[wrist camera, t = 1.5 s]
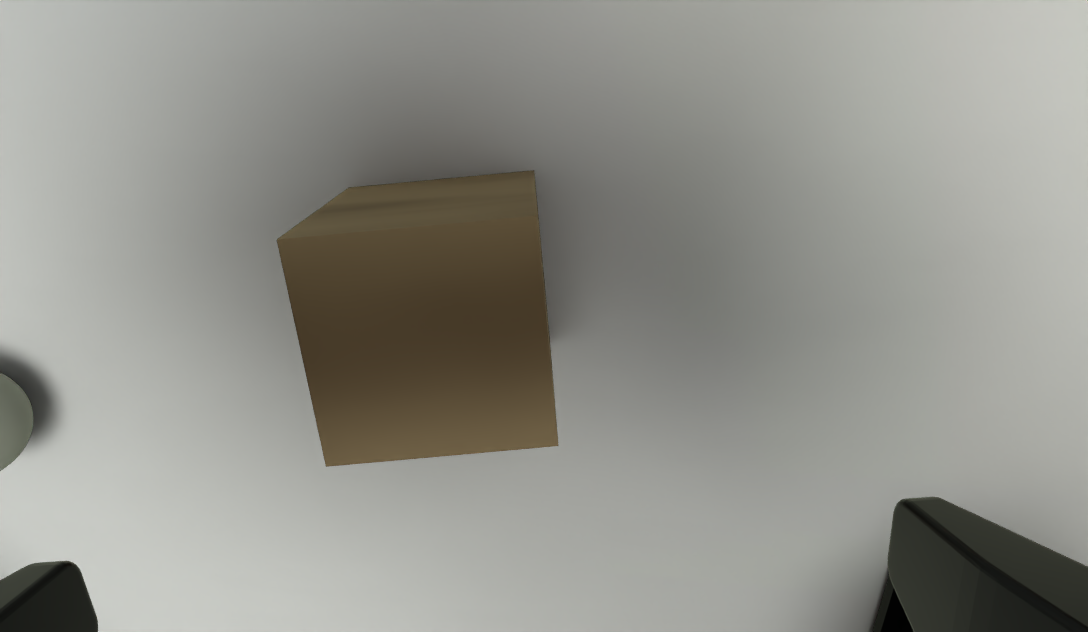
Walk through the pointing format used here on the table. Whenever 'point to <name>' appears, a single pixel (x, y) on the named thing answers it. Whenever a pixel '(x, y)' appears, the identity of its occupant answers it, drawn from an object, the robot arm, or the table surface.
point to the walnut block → (424, 319)
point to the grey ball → (13, 420)
